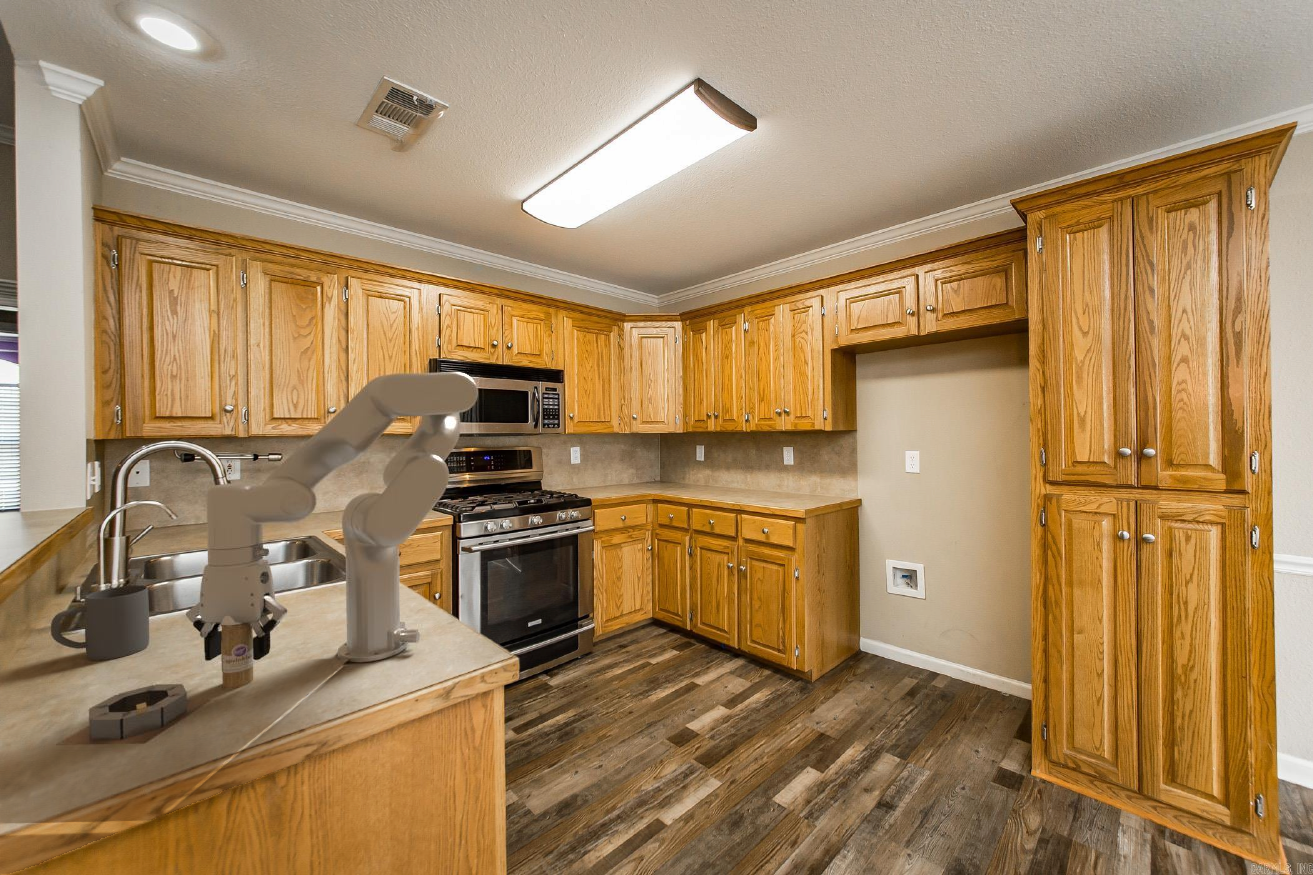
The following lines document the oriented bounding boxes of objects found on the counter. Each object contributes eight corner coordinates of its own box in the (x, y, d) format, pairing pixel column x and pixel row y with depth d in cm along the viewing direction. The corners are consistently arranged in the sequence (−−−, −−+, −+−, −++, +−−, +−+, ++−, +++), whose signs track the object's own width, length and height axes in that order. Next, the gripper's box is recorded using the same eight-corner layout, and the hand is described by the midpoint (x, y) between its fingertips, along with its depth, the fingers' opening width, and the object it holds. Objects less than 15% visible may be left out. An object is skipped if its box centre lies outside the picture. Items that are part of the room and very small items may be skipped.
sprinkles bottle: (229, 695, 92) (228, 616, 91) (216, 689, 94) (214, 611, 94) (260, 684, 96) (258, 608, 95) (246, 678, 98) (245, 603, 98)
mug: (141, 638, 116) (140, 582, 116) (156, 648, 111) (154, 589, 111) (46, 662, 104) (44, 599, 104) (57, 674, 99) (55, 608, 99)
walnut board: (211, 704, 89) (211, 699, 89) (144, 748, 77) (144, 742, 77) (135, 705, 88) (135, 700, 88) (56, 749, 76) (56, 744, 76)
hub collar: (202, 702, 88) (202, 678, 88) (143, 739, 78) (143, 713, 77) (135, 703, 88) (135, 679, 88) (67, 741, 77) (66, 714, 77)
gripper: (300, 550, 98) (302, 647, 99) (201, 550, 98) (203, 648, 98) (273, 560, 91) (274, 666, 91) (165, 561, 90) (167, 667, 91)
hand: (237, 656), depth 95 cm, fingers open, 7 cm apart
